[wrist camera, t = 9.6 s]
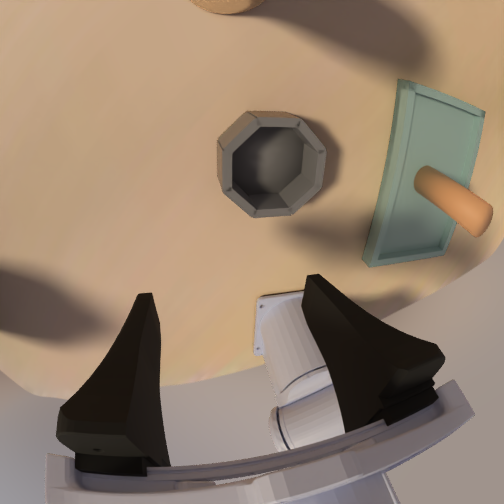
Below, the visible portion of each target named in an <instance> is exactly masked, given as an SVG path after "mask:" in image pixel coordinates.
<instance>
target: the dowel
mask: <svg viewBox="0 0 504 504" xmlns="http://www.w3.org/2000/svg"><path fill="white" fill-rule="evenodd" d="M414 188H415V190H416V192H417V193H419V194H420V195H422V196H423V197H424V198H426V199H427V200H429V201H430V202H431V203H433V204H434V205H435V206H437V207H438V208H439V209H441V210H442V211H443V212H445V213H446V214H447V215H448V216H450V217H451V218H452V219H454V220H455V221H456V222H457V223H459V224H460V225H461V226H462V227H463V228H465V229H466V230H467V231H468V232H469V233H471V234H472V235H473V236H474V237H479V236H481V235H482V234H483V233H484V232H485V231H486V229H487V228H488V226H489V224H490V222H491V220H492V216H493V208H492V206H491V205H490V204H488V203H487V202H486V201H484V200H483V199H481V198H480V197H479V196H477V195H476V194H474V193H473V192H471V191H470V190H468V189H467V188H465V187H464V186H462V185H460V184H459V183H457V182H456V181H454V180H453V179H451V178H449V177H448V176H446V175H444V174H443V173H441V172H439V171H438V170H436V169H434V168H433V167H431V166H428V165H426V166H423V167H422V168H420V169H419V170H418V172H417V173H416V175H415V178H414Z"/></svg>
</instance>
